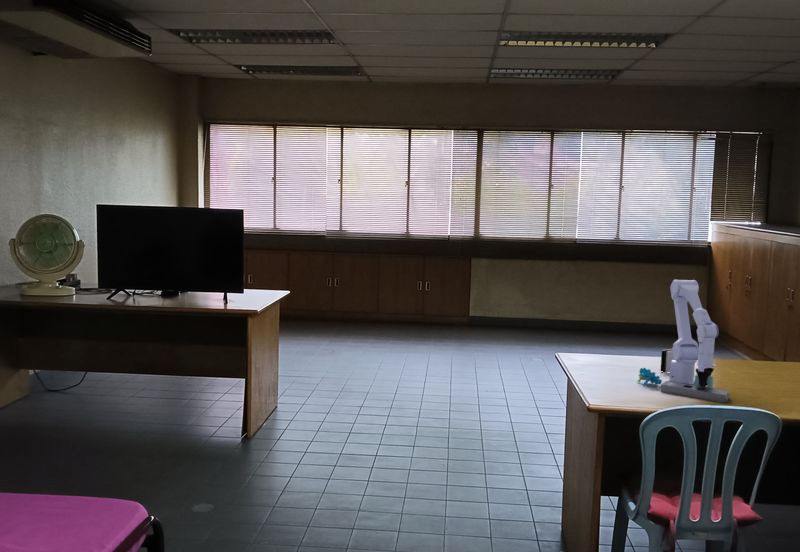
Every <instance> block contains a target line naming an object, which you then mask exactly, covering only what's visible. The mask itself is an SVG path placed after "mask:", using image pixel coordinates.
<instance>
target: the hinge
mask: <svg viewBox="0 0 800 552" xmlns="http://www.w3.org/2000/svg"><path fill="white" fill-rule="evenodd" d="M660 358H661V360H660V371H663V372H670V365H671V361H672V360H675V358H674V357H673V348H669V349H662V350H661V357H660ZM663 372H662V373H663Z"/></svg>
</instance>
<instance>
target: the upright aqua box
mask: <svg viewBox="0 0 800 552" xmlns="http://www.w3.org/2000/svg"><path fill="white" fill-rule="evenodd" d="M694 380H695V383H694V385H695V386H700V385H699V378H698V375H697V374H694ZM707 383H708V385H707V388H713V387H714V376H712V375H711V376H709V377H708V380H707ZM713 389H714V388H713Z"/></svg>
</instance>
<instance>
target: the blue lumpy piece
mask: <svg viewBox="0 0 800 552" xmlns="http://www.w3.org/2000/svg"><path fill="white" fill-rule="evenodd" d="M638 372H639V373H638V376H639V377H638V378H639V379H637V382H639V383H640V382H641V381H644V382H643V383H642V385H643V386H644V385H645V386H646V385H647V384H648V383H651V384H654V385H656V384H658V385H660V386H661V384H662V383H663V380H662V379H660V378H661V377H660V376H659V375H656V374H657V373H656V372H654V371H651V369H649V368H646V367H643V368H642V367H641V368H639V371H638Z"/></svg>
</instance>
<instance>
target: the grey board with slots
mask: <svg viewBox="0 0 800 552" xmlns="http://www.w3.org/2000/svg"><path fill="white" fill-rule="evenodd" d="M661 391H662V392H661ZM660 392H661V393H665V392H666V393H667V394H671V393H672V395H677V396H682V397H689V398H696V399H700V400H701V399H702V400H707V401H712V402H718V403H724V404H725V403H726V402H727V401H728V400H729V399H730V392H731V391H730V390H724V389H721V388H719V389H718V388H708V386H706V387H701V386H695V384H686V383H679V382H673V381H669V380H666V381H664V382H661V384H660Z"/></svg>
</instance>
